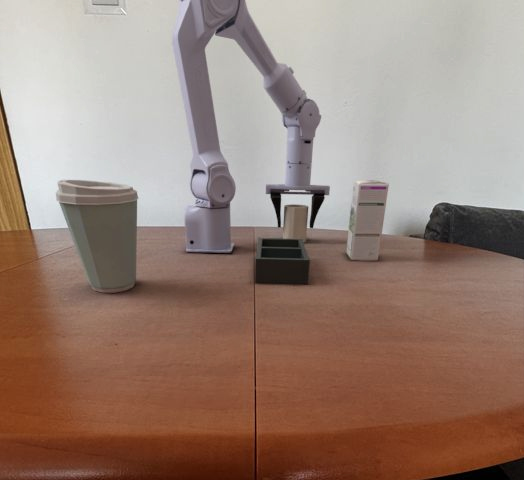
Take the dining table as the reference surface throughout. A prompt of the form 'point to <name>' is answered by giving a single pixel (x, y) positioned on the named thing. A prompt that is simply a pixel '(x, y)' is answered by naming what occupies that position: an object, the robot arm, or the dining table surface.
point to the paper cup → (295, 222)
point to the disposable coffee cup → (102, 230)
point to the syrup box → (366, 219)
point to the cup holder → (281, 261)
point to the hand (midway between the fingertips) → (295, 227)
